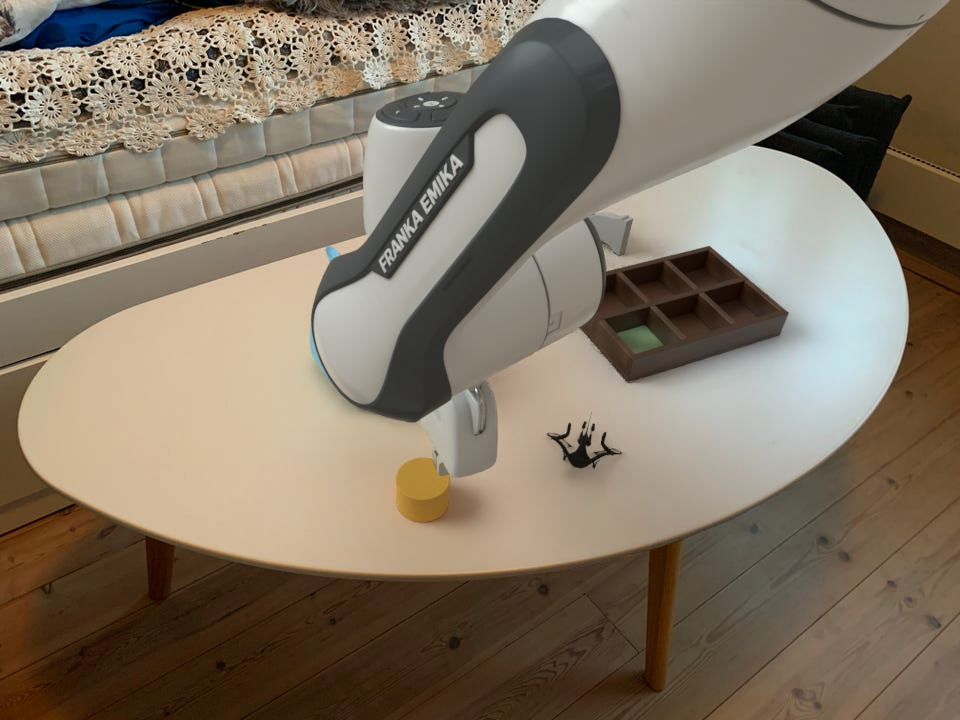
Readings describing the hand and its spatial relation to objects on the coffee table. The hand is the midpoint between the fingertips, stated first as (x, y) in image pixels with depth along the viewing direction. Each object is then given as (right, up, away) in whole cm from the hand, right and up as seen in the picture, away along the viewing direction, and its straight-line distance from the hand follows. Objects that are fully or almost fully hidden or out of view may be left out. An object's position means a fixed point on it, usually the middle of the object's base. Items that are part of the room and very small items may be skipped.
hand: (423, 428), depth 68 cm
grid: (+28, +11, +29) cm, 42 cm away
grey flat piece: (+21, +23, +42) cm, 53 cm away
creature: (+15, -4, +12) cm, 20 cm away
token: (-1, -7, +6) cm, 10 cm away
